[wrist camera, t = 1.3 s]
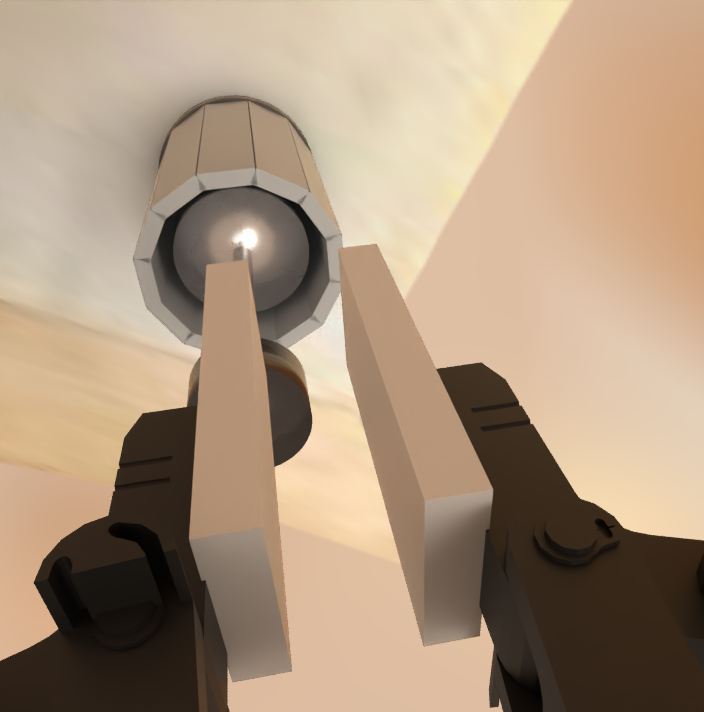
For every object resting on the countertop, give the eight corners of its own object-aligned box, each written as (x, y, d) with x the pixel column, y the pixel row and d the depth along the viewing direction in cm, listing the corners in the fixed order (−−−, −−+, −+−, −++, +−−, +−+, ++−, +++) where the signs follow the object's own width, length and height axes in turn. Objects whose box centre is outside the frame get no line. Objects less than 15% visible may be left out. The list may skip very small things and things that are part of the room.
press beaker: (143, 104, 42) (106, 179, 29) (306, 88, 43) (340, 154, 30) (185, 285, 49) (170, 408, 37) (323, 268, 50) (355, 381, 38)
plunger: (160, 192, 33) (118, 355, 20) (300, 176, 33) (344, 325, 21) (189, 314, 37) (168, 512, 24) (313, 297, 37) (356, 482, 25)
